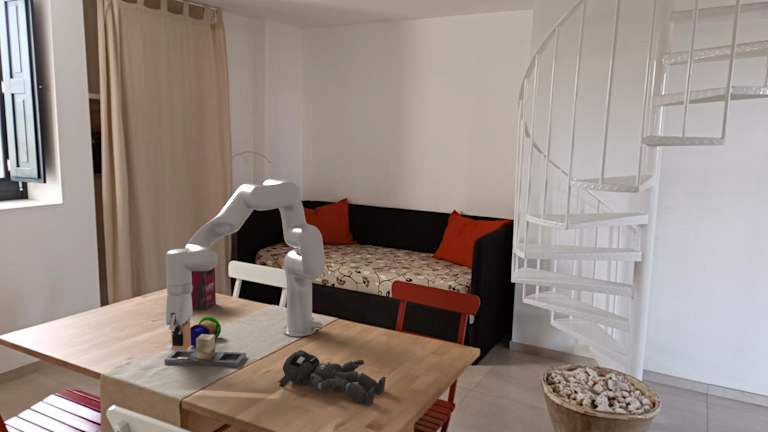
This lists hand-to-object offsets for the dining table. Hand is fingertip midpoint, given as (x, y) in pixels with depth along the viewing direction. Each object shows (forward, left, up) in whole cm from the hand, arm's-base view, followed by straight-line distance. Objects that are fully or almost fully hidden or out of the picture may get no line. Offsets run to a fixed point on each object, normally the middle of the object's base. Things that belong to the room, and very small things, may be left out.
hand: (181, 342), depth 178 cm
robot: (-51, +13, -8) cm, 53 cm away
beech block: (-8, 0, -6) cm, 10 cm away
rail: (-8, 0, -7) cm, 11 cm away
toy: (-1, -17, -7) cm, 19 cm away
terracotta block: (0, 0, -2) cm, 2 cm away
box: (+20, -58, -7) cm, 62 cm away
